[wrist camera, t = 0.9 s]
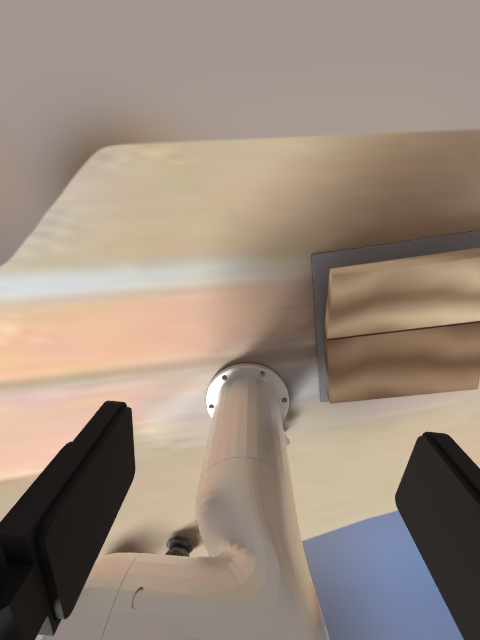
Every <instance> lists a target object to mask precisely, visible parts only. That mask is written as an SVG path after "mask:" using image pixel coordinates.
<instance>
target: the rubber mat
mask: <svg viewBox="0 0 480 640" xmlns="http://www.w3.org/2000/svg"><path fill="white" fill-rule="evenodd" d="M474 248H480V230H479V231H472V232H465V233H458V234H451V235H444V236H438V237H431V238H424V239H417V240H410V241H403V242H397V243H390V244H383V245H376V246H369V247H362V248H356V249H349V250H342V251H335V252H328V253H321V254H315V255H311V260H312V276H313V291H314V307H315V323H316V339H317V355H318V371H319V387H320V401H321V402H327V401H329V399H328V397H327V379H326V360H325V341H324V336H326V333H325V331H324V329H325V318H326V307H327V296H328V285H329V274H330V269H332V268H339V267H347V266H354V265H361V264H368V263H375V262H382V261H389V260H396V259H403V258H410V257H417V256H425V255H432V254H439V253H446V252H453V251H460V250H467V249H474Z"/></svg>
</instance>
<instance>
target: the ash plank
mask: <svg viewBox="0 0 480 640" xmlns="http://www.w3.org/2000/svg"><path fill="white" fill-rule="evenodd" d="M474 321H480V248H474V249H467V250H460V251H453V252H446V253H439V254H432V255H425V256H417V257H410V258H403V259H396V260H389V261H382V262H375V263H368V264H361V265H354V266H347V267H339V268H332V269H330V274H329V285H328V296H327V307H326V318H325V329H324V331H325V333H326V336H327V339H331V338H339V337H348V336H356V335H364V334H373V333H381V332H390V331H398V330H407V329H415V328H423V327H432V326H440V325H449V324H457V323H465V322H474Z"/></svg>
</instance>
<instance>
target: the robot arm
mask: <svg viewBox="0 0 480 640" xmlns="http://www.w3.org/2000/svg"><path fill="white" fill-rule="evenodd" d="M261 371H263V372H261ZM225 375H226V376H225ZM289 402H290V400H289V394H288V390H287V387H286V385H285V383H284V381H283V380H282V379H281V378H280V376H279V375H277V374H276V373H275V372H274V371H272V370H271V369H269V368H267V367H264V366H261V365H258V364H252V363H241V364H236V365H232V366H230V367H227V368H225V369H224V370H222V371H220V372H219V373H218V374H217V375H216V376H215V377H214V378H213V380H212V381H211V383H210V385H209V387H208V390H207V394H206V407H207V410H208V412H209V415H210V416H211V418H212V421H211V426H210V431H209V436H208V441H207V446H206V451H205V456H204V461H203V466H202V470H201V475H200V480H199V485H198V491H197V496H196V519H197V525H198V529H199V532H200V535H201V538H202V540H203V543H204V545H205V547H206V549H207V552H208V554H209V556H210V557H186V556H174V555H162V554H150V553H112V554H108V555H104V556H101V557H99V558H97V557H98V555H99V553H100V551H101V548H102V546H103V544H104V542H105V540H106V538H107V535H108V533H109V531H110V529H111V527H112V525H113V522H114V520H115V518H116V516H117V514H118V512H119V509H120V507H121V505H122V503H123V501H124V499H125V496H126V494H127V492H128V490H129V488H130V485H131V483H132V481H133V478H134V474H135V456H134V440H133V425H132V410H131V408H130V407H127V405H126V403H125V402H117V401H106V402H105V403H104V404H103V405H102V406H101V407H100V409H99V410H98V411H97V412H96V414H95V415H94V416H93V417H92V418H91V420H90V421H89V422H88V423H87V425H86V426H85V427H84V428H83V429H82V431H81V432H80V433H79V434H78V436H77V437H76V438H75V439H74V441H73V442H69V443H67V444H66V445H65V446H64V447H63V448H62V449H61V450H60V451H59V453H58V454H57V455H56V456H55V457H54V459H53V460H52V461H51V462H50V463H49V465H48V466H47V467H46V468H45V469H44V471H43V472H42V473H41V474H40V475H39V477H38V478H37V479H36V480H35V481H34V483H33V484H32V485H31V486H30V487H29V488H28V490H27V491H26V492H25V493H24V494H23V496H22V497H21V498H20V499H19V500H18V502H17V503H16V504H15V505H14V506H13V508H12V509H11V510H10V511H9V512H8V514H7V515H6V516H5V517H4V518H3V520H2V521H1V522H0V640H35V639H36V637H37V635H38V634H39V635H42V637H41V639H40V640H329V637H328V632H327V629H326V626H325V623H324V619H323V616H322V613H321V609H320V606H319V603H318V600H317V597H316V593H315V590H314V587H313V583H312V580H311V577H310V573H309V570H308V566H307V562H306V558H305V554H304V550H303V545H302V540H301V536H300V531H299V526H298V520H297V514H296V508H295V502H294V495H293V489H292V482H291V475H290V469H289V462H288V456H287V449H286V446H287V445H289V443H290V440H289V438H288V437H287V436H286V435H285V434H284V429H283V423H282V421H283V420H284V418H285V417H286V415H287V412H288V409H289ZM395 501H396V506H397V508H398V510H399V512H400V514H401V516H402V518H403V520H404V522H405V524H406V526H407V528H408V530H409V532H410V534H411V536H412V538H413V540H414V542H415V544H416V546H417V548H418V550H419V552H420V554H421V555H422V558H423V560H424V561H425V564H426V565H427V567H428V569H429V571H430V573H431V575H432V577H433V579H434V581H435V583H436V585H437V587H438V589H439V591H440V593H441V595H442V597H443V599H444V601H445V603H446V605H447V607H448V609H449V611H450V613H451V615H452V617H453V619H454V621H455V623H456V625H457V627H458V628H459V630H460V633H461V634H462V636H463V638H464V640H480V468H479V467H478V466H477V465H476V464H475V463H474V462H473V461H472V460H471V459H470V458H469V456H468V455H467V454H466V453H465V452H464V451H463V450H462V449H461V448H460V447H459V446H458V445H457V443H456V442H455V441H454V440H453V439H452V438H451V437H450V436H449V435H447V434H445V433H434V432H425V433H423V435H422V436H420V437H418V439H417V441H416V444H415V446H414V449H413V451H412V454H411V456H410V459H409V462H408V464H407V467H406V469H405V472H404V474H403V477H402V479H401V482H400V485H399V487H398V490H397V492H396V495H395Z"/></svg>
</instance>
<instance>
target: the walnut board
mask: <svg viewBox="0 0 480 640" xmlns="http://www.w3.org/2000/svg"><path fill="white" fill-rule="evenodd" d="M324 341H325V360H326V379H327V397H328V399H329V402H330V403H340V402H350V401H360V400H370V399H380V398H391V397H401V396H411V395H421V394H432V393H442V392H452V391H462V390H472V389H478V384H479V378H480V321H474V322H465V323H457V324H449V325H440V326H432V327H423V328H415V329H407V330H398V331H390V332H381V333H373V334H364V335H356V336H348V337H339V338H331V339H327V336H324Z"/></svg>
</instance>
